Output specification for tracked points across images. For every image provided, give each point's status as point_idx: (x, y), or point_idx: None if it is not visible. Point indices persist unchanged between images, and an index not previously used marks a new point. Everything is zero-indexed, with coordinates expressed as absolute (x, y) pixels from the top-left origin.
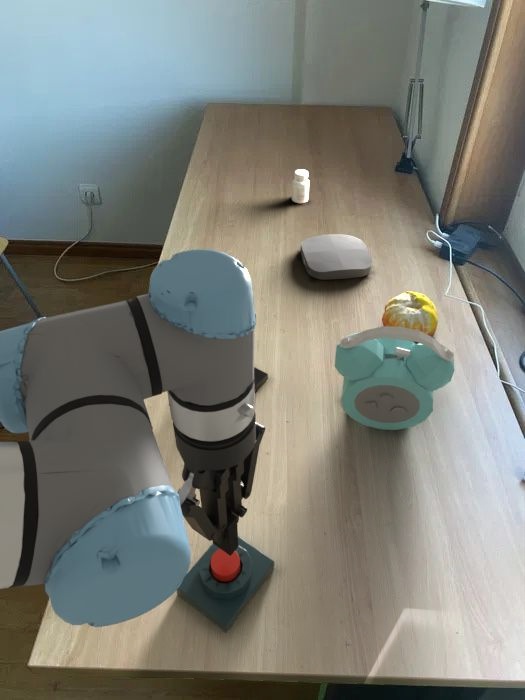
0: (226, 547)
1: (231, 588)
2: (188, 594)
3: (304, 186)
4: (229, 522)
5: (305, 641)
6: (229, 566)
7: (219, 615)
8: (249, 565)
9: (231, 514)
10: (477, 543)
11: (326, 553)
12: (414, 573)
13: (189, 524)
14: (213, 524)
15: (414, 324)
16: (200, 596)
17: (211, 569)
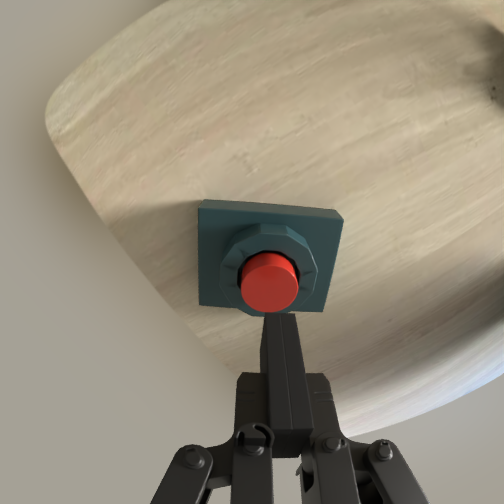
0: (261, 361)
1: (241, 304)
2: (200, 234)
3: None
4: (274, 455)
5: (252, 359)
6: (265, 300)
7: (204, 292)
8: (291, 308)
9: (298, 451)
10: (407, 405)
11: (364, 333)
12: (368, 393)
13: (159, 487)
14: (223, 485)
15: None
16: (209, 253)
17: (246, 268)
